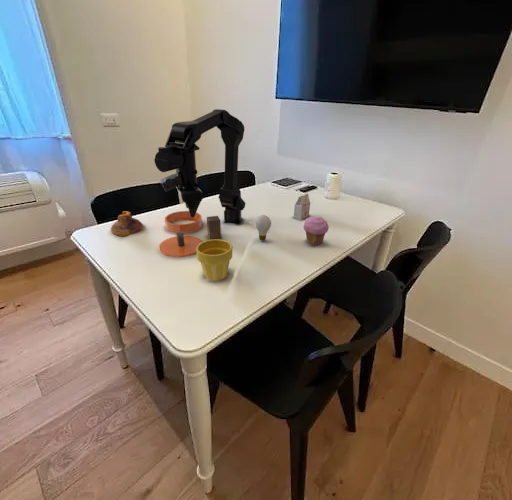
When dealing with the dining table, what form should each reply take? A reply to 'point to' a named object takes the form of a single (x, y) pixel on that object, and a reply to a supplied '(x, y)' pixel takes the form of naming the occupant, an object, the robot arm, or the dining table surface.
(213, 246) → the flower pot
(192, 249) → the lid
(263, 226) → the light bulb
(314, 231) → the cupcake
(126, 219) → the bell
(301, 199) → the white milk carton
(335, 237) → the dining table surface
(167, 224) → the pot
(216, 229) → the block
